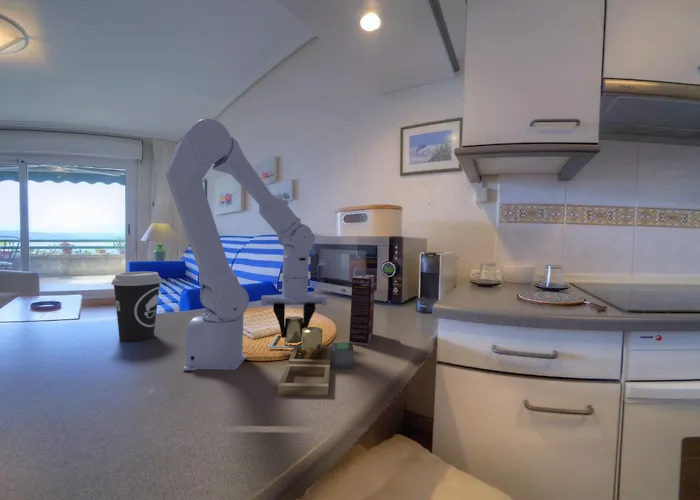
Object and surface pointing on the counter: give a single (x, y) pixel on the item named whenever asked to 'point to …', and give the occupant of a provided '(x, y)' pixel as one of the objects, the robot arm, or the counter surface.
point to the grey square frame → (278, 346)
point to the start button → (342, 345)
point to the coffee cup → (136, 304)
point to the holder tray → (306, 375)
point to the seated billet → (311, 343)
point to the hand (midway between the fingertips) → (293, 336)
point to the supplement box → (362, 309)
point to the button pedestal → (342, 357)
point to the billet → (293, 329)
